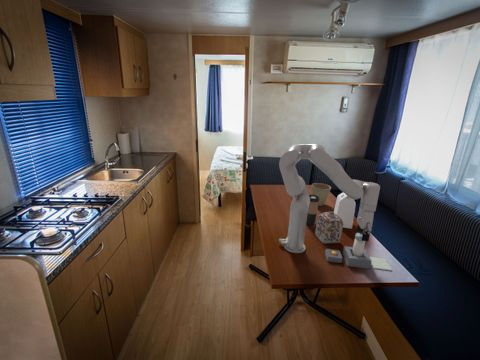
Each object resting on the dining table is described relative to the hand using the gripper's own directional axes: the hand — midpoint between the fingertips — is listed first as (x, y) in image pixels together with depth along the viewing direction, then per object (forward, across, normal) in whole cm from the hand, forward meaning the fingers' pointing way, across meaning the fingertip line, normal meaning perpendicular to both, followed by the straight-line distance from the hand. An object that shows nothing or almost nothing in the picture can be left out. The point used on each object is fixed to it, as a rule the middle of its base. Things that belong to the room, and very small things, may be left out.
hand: (362, 235), depth 139 cm
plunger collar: (+16, 0, -13) cm, 20 cm away
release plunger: (+15, 0, -13) cm, 20 cm away
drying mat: (+16, 0, +12) cm, 20 cm away
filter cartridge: (+16, 0, -1) cm, 16 cm away
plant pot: (+16, -77, -11) cm, 80 cm away
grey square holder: (+16, 0, -1) cm, 16 cm away
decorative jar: (+16, -21, -13) cm, 29 cm away
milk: (+16, -45, +1) cm, 48 cm away
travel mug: (+15, -40, -22) cm, 48 cm away
